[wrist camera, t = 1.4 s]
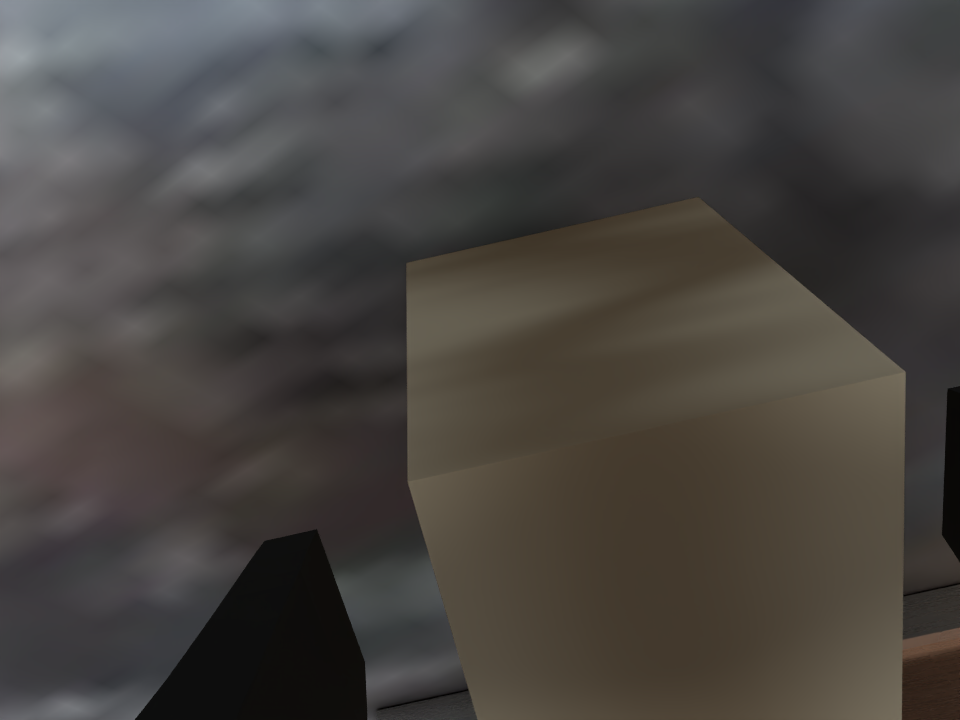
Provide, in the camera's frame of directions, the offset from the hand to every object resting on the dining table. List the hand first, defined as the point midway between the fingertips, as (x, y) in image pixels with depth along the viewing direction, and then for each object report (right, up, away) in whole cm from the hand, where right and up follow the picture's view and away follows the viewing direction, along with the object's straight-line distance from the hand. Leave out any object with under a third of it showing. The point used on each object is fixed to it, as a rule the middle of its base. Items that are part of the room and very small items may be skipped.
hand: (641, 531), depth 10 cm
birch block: (0, +2, +4) cm, 5 cm away
